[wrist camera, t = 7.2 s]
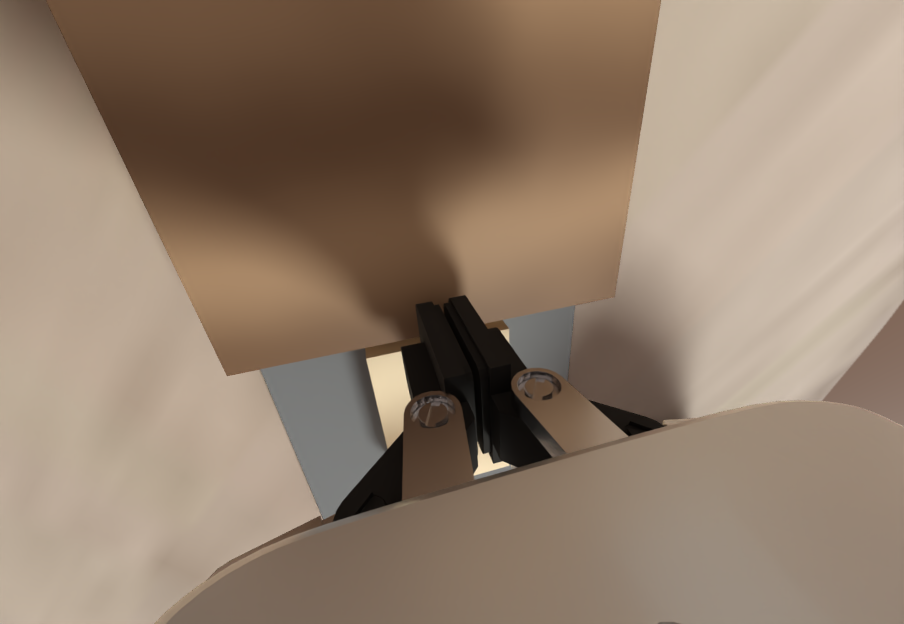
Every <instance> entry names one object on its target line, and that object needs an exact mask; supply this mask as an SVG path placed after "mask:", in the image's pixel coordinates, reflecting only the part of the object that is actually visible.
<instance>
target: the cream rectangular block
mask: <svg viewBox="0 0 904 624" xmlns="http://www.w3.org/2000/svg"><path fill="white" fill-rule="evenodd" d="M485 325H486V327H487V328H488V329H489V328H494V327H497V328H498V329H499V330H500V331H501V333H502V334H503V335H504V337H505V338H506V340H507V341H508V342H509V328H508V326H507V325H506V324H505V323H504V321H503V320H500V321H495V322H490V323H485ZM417 343H421V342H420V337H416V338H412V339H407V340H402V341H397V342H392V343H387V344H382V345H377V346H372V347H367V348H365V352H366V360H367V365H368V369H369V373H370V377H371V381H372V386H373V390H374V394H375V398H376V402H377V407H378V411H379V415H380V419H381V423H382V427H383V432H384V436H385V440H386V444H387V448H389V447H390V446H391V445H392V444H393V442H394V441H395V440H396V439H397V438H398V437H399V436H400V434H401V433H402V432H403V421H404V411H405V407H406V406H407V404H408V403H409V402H410V401H411V398H410V394H409V390H408V385H407V380H406V375H405V370H404V364H403V359H402V353H401V347H402V346H407V345H412V344H417ZM477 443H478V442H477ZM506 466H509V464H508V463H506V462H503V461H502V462H498V463H495V464H493V462H492V460H491V457H490V455H489V453H486V454H483V453H482V451H481V449H480V447H479V444H478V468H477V469H476V471H475V473H474V475H478V474H481V473H485V472H489V471H492V470H496V469H499V468H503V467H506Z"/></svg>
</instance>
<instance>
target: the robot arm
mask: <svg viewBox="0 0 904 624" xmlns="http://www.w3.org/2000/svg"><path fill="white" fill-rule="evenodd" d="M415 307H416V315H417V322H418V329H419V336H420V342H421V343H417V344H412V345H407V346H402V347H401V353H402V359H403V364H404V370H405V375H406V380H407V385H408V390H409V394H410V398H411V401H410V402H409V403H408V404H407V406H406V407H405V411H404V421H403V432H402V433H401V434H400V436H399V437H398V438H397V439H396V440H395V441H394V442H393V444H392V445H391V446H390V447H389V448H388V449H387V450H386V452H385V453H384V454H383V455H382V456H381V457H380V459H379V460H378V461H377V462H376V463H375V464H374V465H373V467H372V468H371V469H370V470H369V471H368V472H367V473H366V475H365V476H364V477H363V478H362V479H361V480H360V481H359V483H358V484H357V485H356V486H355V487H354V488H353V490H352V491H351V492H350V493H349V494H348V495H347V496H346V498H345V499H344V500H343V501H342V503H341V504H340V506H339V507H338V509H337V510H336V513H335V514H334V515H332V516H330V517H328V518H326V519H324V520H322V519H321V517H320V516H319V517H317V518H315V519H313V520H311V521H309V522H307V523H305V524H303V525H301V526H299V527H296V528H294V529H292V530H290V531H288V532H286V533H284V534H282V535H280V536H278V537H276V538H274V539H272V540H270V541H268V542H266V543H264V544H262V545H260V546H258V547H256V548H254V549H252V550H250V551H248V552H246V553H244V554H242V555H240V556H238V557H236V558H234V559H232V560H230V561H229V562H227V563H226V564H224V565H223V566H221V567H220V568H218V569H217V570H216V571H215V572H214V573H213V574H212V575H211V576H210V577H209V578H208V579H207V580H206V581H205V582H203V583H202V584H200V585H199V586H197V587H196V588H195V589H194V590H192V591H191V592H190V593H188V594H187V595H186V596H184V597H183V598H182V599H181V600H179V601H178V602H177V603H176V604H175V605H173V606H172V607H171V608H170V609H169V610H168V611H166V612H165V613H164V614H163V615H162V616H161V617H160V618H159V619H158V620H157V621H156V622H155V623H154V624H904V426H902V425H900V424H898V423H896V422H893V421H891V420H889V419H887V418H885V417H883V416H881V415H878V414H876V413H874V412H871V411H869V410H866V409H863V408H859V407H856V406H851V405H846V404H841V403H833V402H824V401H805V400H795V401H776V402H769V403H762V404H755V405H749V406H745V407H741V408H736V409H732V410H727V411H722V412H719V413H715V414H711V415H707V416H703V417H699V418H687V419H671V420H663V423H662V424H660V423H658V422H657V421H655V420H652V419H650V418H647V417H644V416H641V415H638V414H634V413H631V412H627V411H624V410H621V409H617V408H614V407H610V406H607V405H604V404H600V403H597V402H594V401H590V400H587V399H586V398H585V397H584V396H583V395H582V394H581V393H580V392H579V391H577V390H576V389H575V388H574V387H573V386H572V385H571V384H570V383H569V382H567V381H566V380H565V379H564V378H563V377H562V376H560V375H559V374H557V373H556V372H554V371H551V370H549V369H544V368H529V369H527V368H526V366H525V365H524V363H523V362H522V361H521V359H520V358H519V356H518V355H517V354H516V352H515V351H514V349H513V348H512V347H511V345H510V344H509V342H508V341H507V340H506V338H505V337H504V335H503V334H502V333H501V331H500V330H499V329H498V328H497V327H494V328H489V329H488V328H487V327H486V325H485V324H484V322H483V321H482V319H481V318H480V316H479V315H478V313H477V312H476V310H475V309H474V307H473V306H472V304H471V303H470V301H469V300H468V298H467V297H466V295H463V296H457V297H452V298H449V299H448V303H444V304H443V309H444V313H443V311H442V309H441V307H440V305H439V304H438V305H434V304H433V302H432V301H431V302H425V303H420V304H416V305H415ZM477 442H478V443H477ZM478 444H479V447H480V449H481V451H482V453H483V454H486V453H489V455H490V457H491V460H492V462H493V464H495V463H498V462H502V461H503V462H506V463H508V464H510V465H511V470H508V471H504V472H501V473H497V474H494V475H490V476H487V477H483V478H480V479H476V480H475V479H474V473H475V471H476V469H477V468H478Z"/></svg>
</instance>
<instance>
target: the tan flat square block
mask: <svg viewBox="0 0 904 624" xmlns="http://www.w3.org/2000/svg"><path fill="white" fill-rule="evenodd" d="M46 2H47V4H48V6H49V8H50V10H51V12H52V14H53V16H54V18H55V20H56V22H57V25H58V27H59V29H60V31H61V33H62V35H63V37H64V39H65V41H66V43H67V45H68V47H69V49H70V51H71V54H72V56H73V58H74V60H75V62H76V64H77V66H78V68H79V70H80V72H81V74H82V76H83V78H84V80H85V83H86V85H87V87H88V89H89V91H90V93H91V95H92V97H93V99H94V101H95V103H96V105H97V107H98V109H99V112H100V114H101V116H102V118H103V120H104V122H105V124H106V126H107V128H108V130H109V132H110V134H111V136H112V139H113V141H114V143H115V145H116V147H117V149H118V151H119V153H120V155H121V157H122V159H123V161H124V163H125V165H126V168H127V170H128V172H129V174H130V176H131V178H132V180H133V182H134V184H135V186H136V188H137V190H138V192H139V194H140V197H141V199H142V201H143V203H144V205H145V207H146V209H147V211H148V213H149V215H150V217H151V219H152V221H153V223H154V226H155V228H156V230H157V232H158V234H159V236H160V238H161V240H162V242H163V244H164V246H165V248H166V250H167V253H168V255H169V257H170V259H171V261H172V263H173V265H174V267H175V269H176V271H177V273H178V275H179V277H180V279H181V282H182V284H183V286H184V288H185V290H186V292H187V294H188V296H189V298H190V300H191V302H192V304H193V306H194V308H195V311H196V313H197V315H198V317H199V319H200V321H201V323H202V325H203V327H204V329H205V331H206V333H207V335H208V337H209V340H210V342H211V344H212V346H213V348H214V350H215V352H216V354H217V356H218V358H219V360H220V362H221V364H222V367H223V369H224V371H225V373H226V375H227V376H230V375H235V374H240V373H245V372H250V371H254V370H259V369H264V368H269V367H274V366H279V365H284V364H289V363H294V362H299V361H304V360H308V359H313V358H318V357H323V356H328V355H333V354H338V353H343V352H348V351H353V350H358V349H362V348H367V347H372V346H377V345H382V344H387V343H392V342H397V341H402V340H407V339H412V338H416V337H420V336H419V329H418V322H417V315H416V307H415V305H416V304H420V303H425V302H431V301H432V302H433V304H434V305H438V304H439V305H440V307H441V309H442V311H443V313H444V309H443V304H444V303H448V299H449V298H452V297H457V296H463V295H466V297H467V298H468V300H469V301H470V303H471V304H472V306H473V307H474V309H475V310H476V312H477V313H478V315H479V316H480V318H481V319H482V321H483V322H484V324H485V323H490V322H495V321H500V320H505V319H510V318H515V317H520V316H524V315H529V314H534V313H539V312H544V311H549V310H554V309H559V308H564V307H569V306H574V305H578V304H583V303H588V302H593V301H598V300H603V299H608V298H613V297H614V296H615V290H616V284H617V277H618V271H619V265H620V258H621V252H622V246H623V239H624V233H625V226H626V220H627V214H628V207H629V201H630V195H631V188H632V182H633V176H634V169H635V163H636V156H637V150H638V144H639V137H640V131H641V125H642V118H643V112H644V106H645V99H646V93H647V87H648V80H649V74H650V67H651V61H652V55H653V48H654V42H655V36H656V29H657V23H658V17H659V10H660V4H661V0H46Z"/></svg>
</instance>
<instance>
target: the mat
mask: <svg viewBox="0 0 904 624" xmlns="http://www.w3.org/2000/svg"><path fill="white" fill-rule="evenodd" d="M574 310H575V305H574V306H569V307H564V308H559V309H554V310H549V311H544V312H539V313H534V314H529V315H524V316H520V317H515V318H510V319H505V320H503V321H504V323H505V324H506V325H507V326H508V328H509V344H510V345H511V347H512V348H513V349H514V351H515V352H516V354H517V355H518V356H519V358H520V359H521V361H522V362H523V363H524V365H525V366H526V368H527V369H529V368H544V369H549V370H551V371H554V372H556V373H557V374H559V375H560V376H562V377H563V378H564V379H565V380H566V381H568V371H569V360H570V350H571V340H572V330H573V320H574ZM260 370H261V372H262V374H263V377H264V379H265V381H266V384H267V386H268V389H269V391H270V393H271V396H272V398H273V401H274V403H275V405H276V408H277V410H278V412H279V415H280V417H281V420H282V422H283V424H284V427H285V429H286V431H287V434H288V436H289V439H290V441H291V443H292V446H293V448H294V450H295V453H296V455H297V458H298V460H299V462H300V465H301V467H302V469H303V472H304V474H305V477H306V479H307V481H308V484H309V486H310V488H311V491H312V493H313V496H314V498H315V500H316V503H317V505H318V507H319V510H320V512H321V515H322V517H323V519H326V518H328V517H330V516H332V515H334V514H335V513H336V510H337V509H338V507H339V506H340V504H341V503H342V501H343V500H344V499H345V498H346V496H347V495H348V494H349V493H350V492H351V491H352V490H353V488H354V487H355V486H356V485H357V484H358V483H359V481H360V480H361V479H362V478H363V477H364V476H365V475H366V473H367V472H368V471H369V470H370V469H371V468H372V467H373V465H374V464H375V463H376V462H377V461H378V460H379V459H380V457H381V456H382V455H383V454H384V453H385V452H386V450H387V449H388V448H387V444H386V440H385V436H384V432H383V427H382V423H381V419H380V415H379V411H378V407H377V402H376V398H375V394H374V390H373V386H372V381H371V377H370V373H369V369H368V365H367V360H366V352H365V348H362V349H358V350H353V351H348V352H343V353H338V354H333V355H328V356H323V357H318V358H313V359H308V360H304V361H299V362H294V363H289V364H284V365H279V366H274V367H269V368H264V369H260ZM508 470H511V465H510V464H509V466H506V467H503V468H499V469H496V470H492V471H489V472H485V473H481V474H478V475H474V479H475V480H476V479H480V478H483V477H487V476H490V475H494V474H497V473H501V472H504V471H508Z"/></svg>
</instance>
